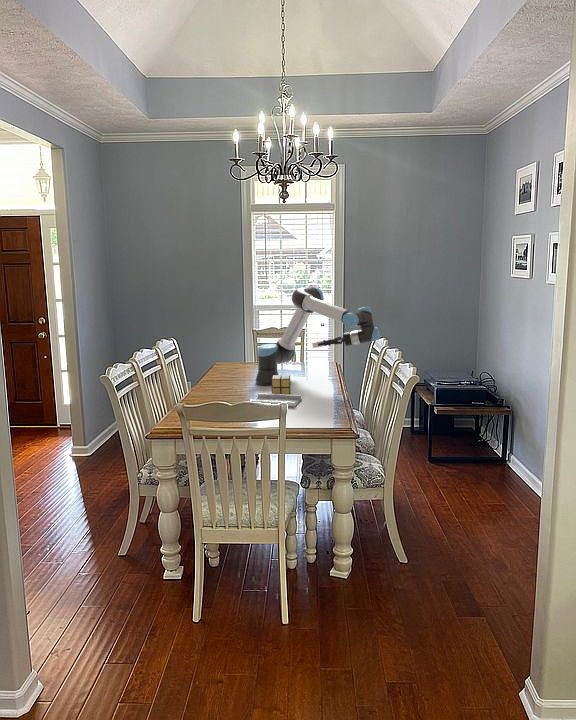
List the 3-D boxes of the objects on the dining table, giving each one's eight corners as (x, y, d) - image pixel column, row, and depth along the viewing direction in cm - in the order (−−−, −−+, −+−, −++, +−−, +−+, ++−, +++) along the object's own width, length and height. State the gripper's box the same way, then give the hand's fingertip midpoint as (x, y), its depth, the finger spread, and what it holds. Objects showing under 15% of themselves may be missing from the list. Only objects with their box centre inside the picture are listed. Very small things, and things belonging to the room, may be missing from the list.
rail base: (249, 405, 310) (249, 400, 309) (258, 398, 326) (258, 393, 325) (294, 407, 304) (294, 402, 304) (301, 400, 321) (301, 395, 320)
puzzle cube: (272, 392, 340) (272, 375, 338) (290, 392, 340) (290, 375, 338) (271, 396, 330) (271, 378, 328) (289, 396, 330) (289, 378, 328)
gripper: (350, 346, 321) (312, 352, 326) (355, 343, 345) (319, 350, 350) (347, 332, 320) (309, 339, 325) (353, 331, 345) (317, 337, 350)
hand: (314, 344), depth 338 cm, fingers open, 13 cm apart
